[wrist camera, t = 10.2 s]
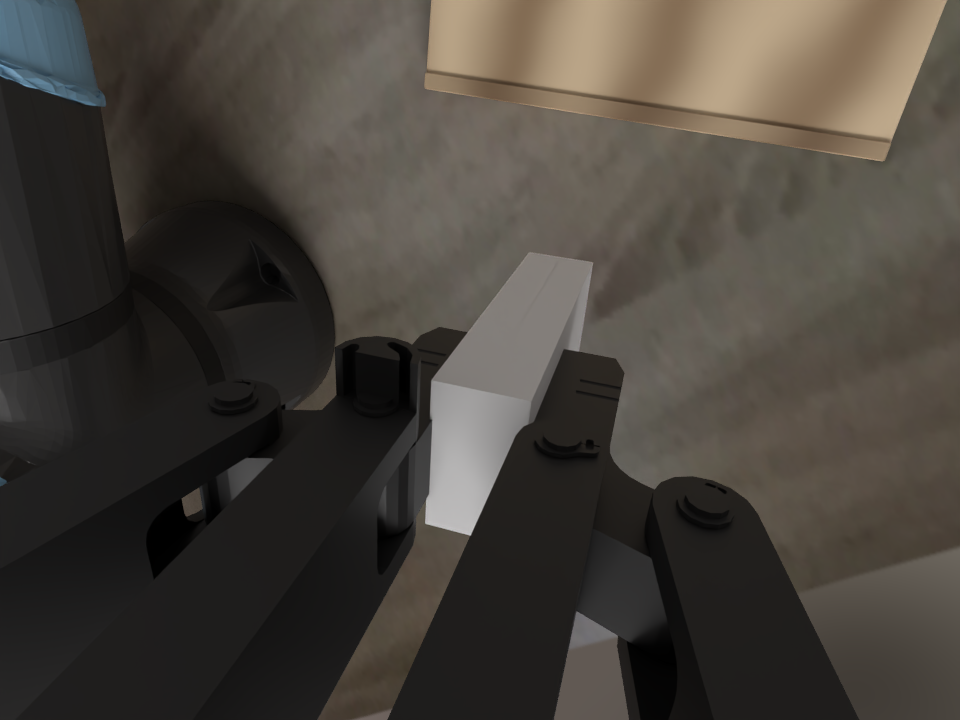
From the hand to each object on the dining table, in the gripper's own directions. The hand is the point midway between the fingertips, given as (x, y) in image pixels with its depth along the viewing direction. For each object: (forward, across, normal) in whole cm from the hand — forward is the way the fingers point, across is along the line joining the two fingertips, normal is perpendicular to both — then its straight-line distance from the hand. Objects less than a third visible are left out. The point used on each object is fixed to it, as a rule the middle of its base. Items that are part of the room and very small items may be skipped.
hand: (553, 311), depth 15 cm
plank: (+20, 0, +7) cm, 21 cm away
